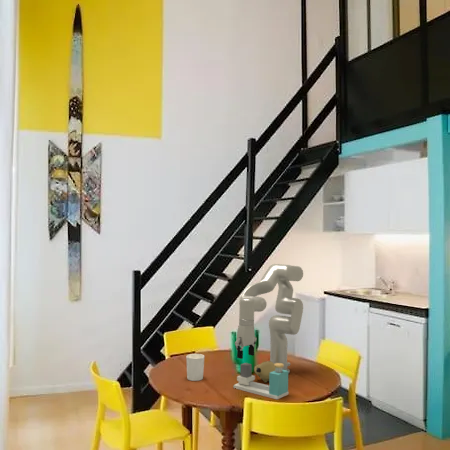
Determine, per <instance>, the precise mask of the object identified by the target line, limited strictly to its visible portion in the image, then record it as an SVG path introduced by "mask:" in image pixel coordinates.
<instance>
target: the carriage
mask: <svg viewBox="0 0 450 450" xmlns="http://www.w3.org/2000/svg"><path fill="white" fill-rule="evenodd" d="M252 368H253V367H252V364H251V363H248V362H244V363H240V375H237V376H236V381H237V382H238V383H240V384H244V385H249V382H250V381H252V382H254V381H255V380H256V375H253V374H252V370H253V369H252Z"/></svg>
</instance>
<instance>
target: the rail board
mask: <svg viewBox="0 0 450 450" xmlns="http://www.w3.org/2000/svg"><path fill="white" fill-rule="evenodd" d="M268 382H269V384H266V383H265V384H264V383H260V382H256V381H253V382H252V381H250V382H249V385H244V384H240V383H239V382H238V383H235V384H233V389H235V388H236V390H239V391H243V392H248V393H251V394H255V395H259V396H263V397H266V398H270V399H274V400H280V399H281V398H283V397H286V396H288V395H289V374H288V371H287V370H282V373H277V372H275V371H273V372H270V373H269V381H268Z"/></svg>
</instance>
